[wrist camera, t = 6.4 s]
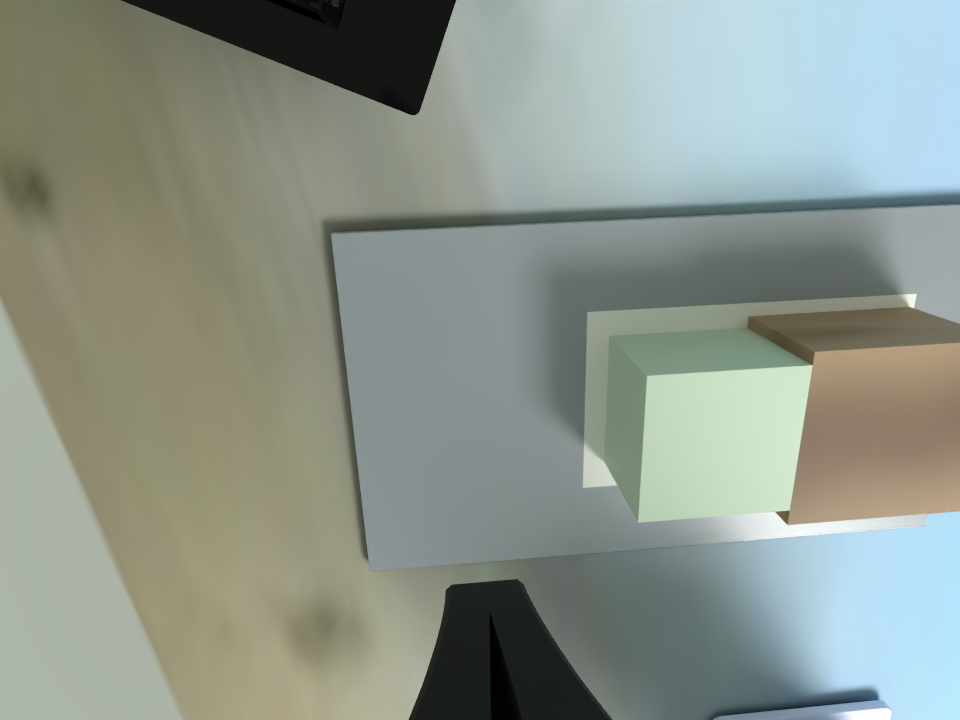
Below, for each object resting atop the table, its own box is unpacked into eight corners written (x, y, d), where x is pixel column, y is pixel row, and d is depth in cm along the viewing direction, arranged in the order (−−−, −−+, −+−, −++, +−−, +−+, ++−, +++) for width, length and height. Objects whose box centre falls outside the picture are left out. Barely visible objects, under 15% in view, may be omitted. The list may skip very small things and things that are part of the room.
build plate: (916, 519, 24) (924, 526, 23) (370, 564, 22) (369, 571, 22) (993, 201, 20) (1004, 203, 19) (332, 232, 18) (330, 233, 18)
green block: (732, 453, 22) (789, 510, 18) (604, 462, 21) (638, 522, 18) (747, 327, 20) (812, 365, 17) (609, 336, 20) (647, 375, 16)
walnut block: (878, 454, 22) (960, 511, 19) (731, 465, 22) (787, 525, 18) (909, 306, 20) (1006, 339, 17) (748, 316, 20) (815, 351, 16)
